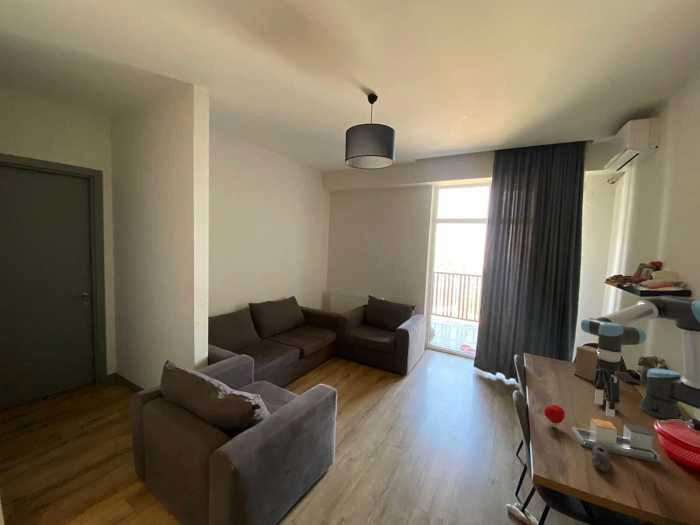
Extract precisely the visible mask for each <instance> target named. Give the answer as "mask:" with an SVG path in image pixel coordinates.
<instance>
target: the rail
mask: <svg viewBox="0 0 700 525" xmlns="http://www.w3.org/2000/svg"><path fill="white" fill-rule="evenodd" d="M571 433H572V434H573V436H574V437H575V439H576V440H577V442H578V444H579V445H580V446H581V447H585V448H589V449H593V447H594V445H595V444H596V443H598V441H594V440H592V438H591V437H590V436H589V434H590V429H586V428H579V427H576V426H574V425H573V426H572V427H571ZM653 438H654V434H653V433H652V432H651V431H649V430H648V429H647V428H646V427H645V426H641V425H640V426H639V425H634V424H629V423H623V433H622V436H619V435H617V436H616V445H613V444H608V443H603V442H601V443H603V444H604V445H605V446H606V448H607V450H608V453H613V454H617V455H621V456H622V455H623V456H626V457H631V458H635V459H639V460H645V461H649V462H654V463H659V464H660V463H661V456H660V455H659V454H658V453H657V452H656V451H655V450H654V449H653Z"/></svg>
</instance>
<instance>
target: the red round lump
mask: <svg viewBox="0 0 700 525" xmlns="http://www.w3.org/2000/svg"><path fill="white" fill-rule="evenodd" d="M543 413H544V415H545V417H546V418H547V420H549V422H550V423H549V426H551V427H552V428H556V427H557V428H558V424H561V423H562V422H563V420H564V419H565V414H566V413H565V410H564V409H563V407H562V406H560V405H558V404H553V405H547V406H546V407H545V408H544V412H543Z"/></svg>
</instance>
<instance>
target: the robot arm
mask: <svg viewBox="0 0 700 525" xmlns="http://www.w3.org/2000/svg"><path fill="white" fill-rule="evenodd" d="M654 319H665V320H669V321H675V327H676V328H677V329H679V330H680V333H681V343H682V359H683V370H684V375H682V374H681V373H680V372H678V371H675V370H671V369H670V370H669V369H663V368H649V369H648V370H647V374H646V386H645V395H644V396H643V398H641V399H642V400H641V401H640V403H639V409H640V410H641V411H643V413H646V414H648V415H649V416H652V417H655V418H657V419H660V420H663V419H682V420H683V414H682V410H681V408H680V405H679V402H680V403H682V404H684V405H687V406H690V407H692V408H694V409H697V410H699V411H700V298H699V299H698V298H691V297H690V298H689V297H682V296H674V295H660V296H659V295H658V296H653V297H647V298H644V299H642V300H639V301H637V302H636V303H635V304H634V305H631V306H628V307H625V308H622V309H620V310H617V311H613V312H612V313H609V314H606V315H604V316H601V317H598V318H597V317H596V318H593V317H585V318H583V319H582V320H581V322H580V328H581V330H582V331H583V332H584V333H586V334H590V335H593V336H597V337H598V339H597V349H598V350H596V352H597V356H598V357H597V360H596V372H595V377H594V380H593V383H592V385H593V386H594V388H595V393H594V396H595V397H594V404H596V405H599V404H600V405H599V406H601V405H603V395H604V391H605V389H604V387H605V385H606V388H607V395H608V399H606V401H607V402H606V409H605V414H604V415H606V416H607V417H611V418H615V415H616V405H617V404H620V403H621V401H620V378H619V377H616V372H619V371H620V370H621V368H620V366H621V362H620V361H622V360H621V359H622V358H621V357H622V347H623V346H631V345H632V346H637V345H641V344H643V343H644V342H646V339H647V336H646V333H645V331H644V330H643V329H641V327H640V328H639V327H638V326H637V327H636V326H631V325H633V324H636V323H639V322H641V321H644V320H654ZM616 403H617V404H616Z"/></svg>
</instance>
